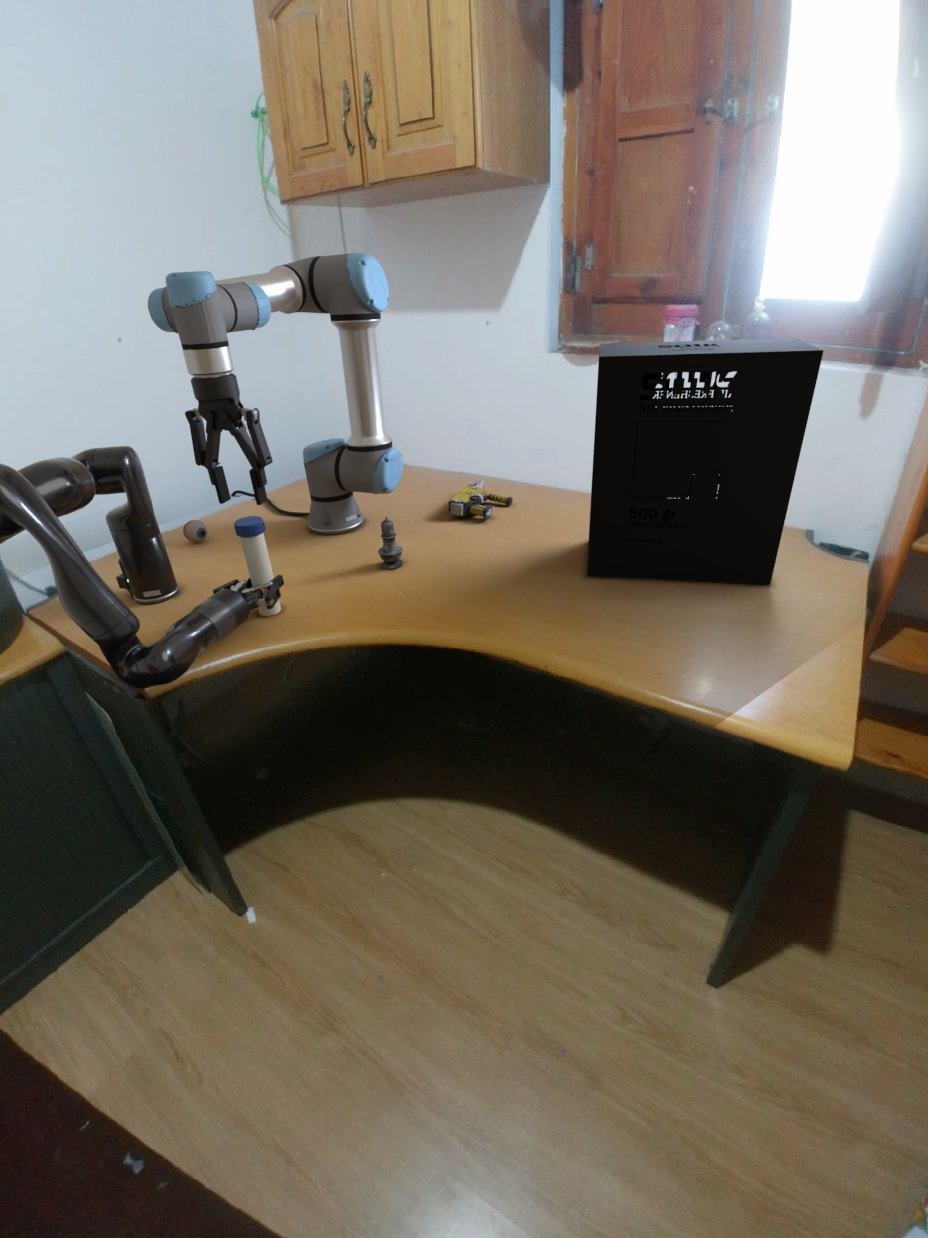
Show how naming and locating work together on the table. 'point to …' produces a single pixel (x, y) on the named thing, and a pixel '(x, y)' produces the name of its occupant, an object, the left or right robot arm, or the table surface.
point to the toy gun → (475, 501)
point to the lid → (249, 526)
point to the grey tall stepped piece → (389, 546)
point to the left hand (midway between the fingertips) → (271, 577)
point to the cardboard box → (696, 457)
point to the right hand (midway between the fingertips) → (243, 501)
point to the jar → (259, 567)
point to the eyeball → (195, 531)
